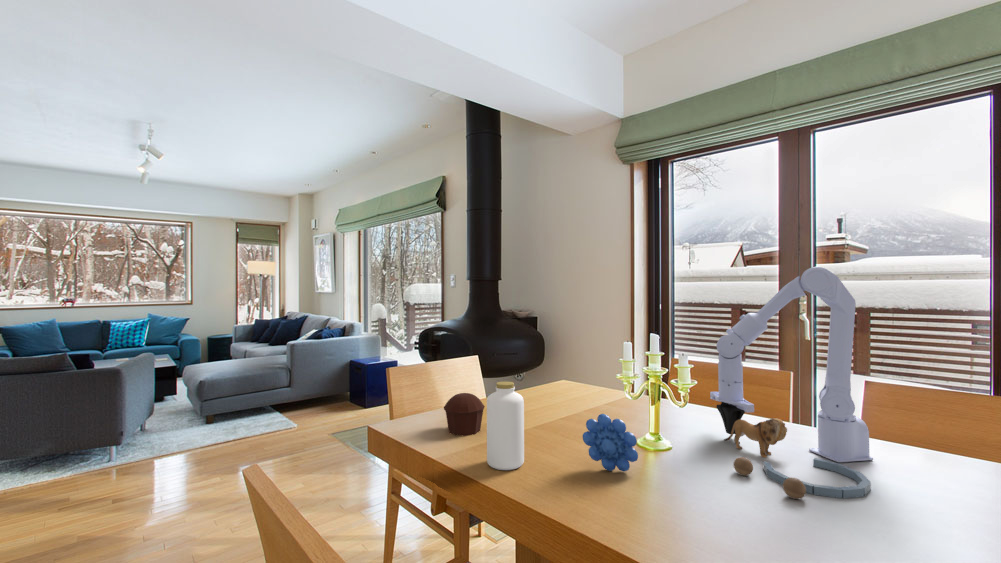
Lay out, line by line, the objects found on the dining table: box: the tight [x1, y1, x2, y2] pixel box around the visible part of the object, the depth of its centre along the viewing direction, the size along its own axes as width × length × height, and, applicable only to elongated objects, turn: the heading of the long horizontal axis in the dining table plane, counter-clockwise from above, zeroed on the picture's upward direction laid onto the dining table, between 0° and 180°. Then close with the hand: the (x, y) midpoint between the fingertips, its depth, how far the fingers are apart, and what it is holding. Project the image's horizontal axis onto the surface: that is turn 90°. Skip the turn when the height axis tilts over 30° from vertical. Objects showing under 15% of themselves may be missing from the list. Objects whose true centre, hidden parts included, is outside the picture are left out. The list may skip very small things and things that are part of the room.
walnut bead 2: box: [782, 477, 807, 500], centre depth 83 cm, size 4×4×4 cm
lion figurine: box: [723, 417, 788, 459], centre depth 108 cm, size 15×5×9 cm, turn 34°
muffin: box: [443, 392, 486, 437], centre depth 124 cm, size 12×11×10 cm
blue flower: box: [582, 413, 639, 472], centre depth 95 cm, size 12×7×12 cm, turn 70°
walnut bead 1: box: [733, 456, 754, 476], centre depth 94 cm, size 4×4×4 cm
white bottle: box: [486, 381, 525, 471], centre depth 100 cm, size 8×8×18 cm
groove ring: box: [762, 457, 872, 499], centre depth 91 cm, size 17×15×2 cm
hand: (731, 433), depth 117 cm, fingers closed
